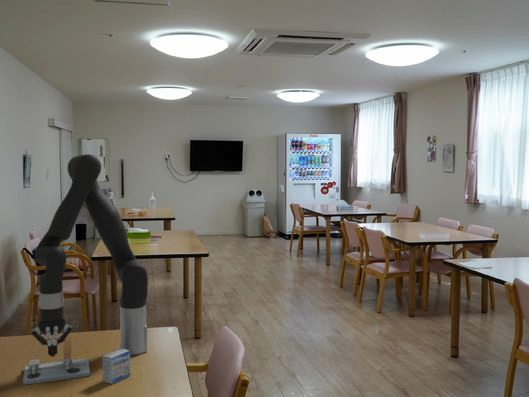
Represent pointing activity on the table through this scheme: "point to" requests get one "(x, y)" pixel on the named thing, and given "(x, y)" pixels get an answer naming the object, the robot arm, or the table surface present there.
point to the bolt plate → (57, 371)
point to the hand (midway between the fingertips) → (52, 355)
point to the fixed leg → (34, 365)
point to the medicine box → (116, 366)
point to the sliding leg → (67, 353)
